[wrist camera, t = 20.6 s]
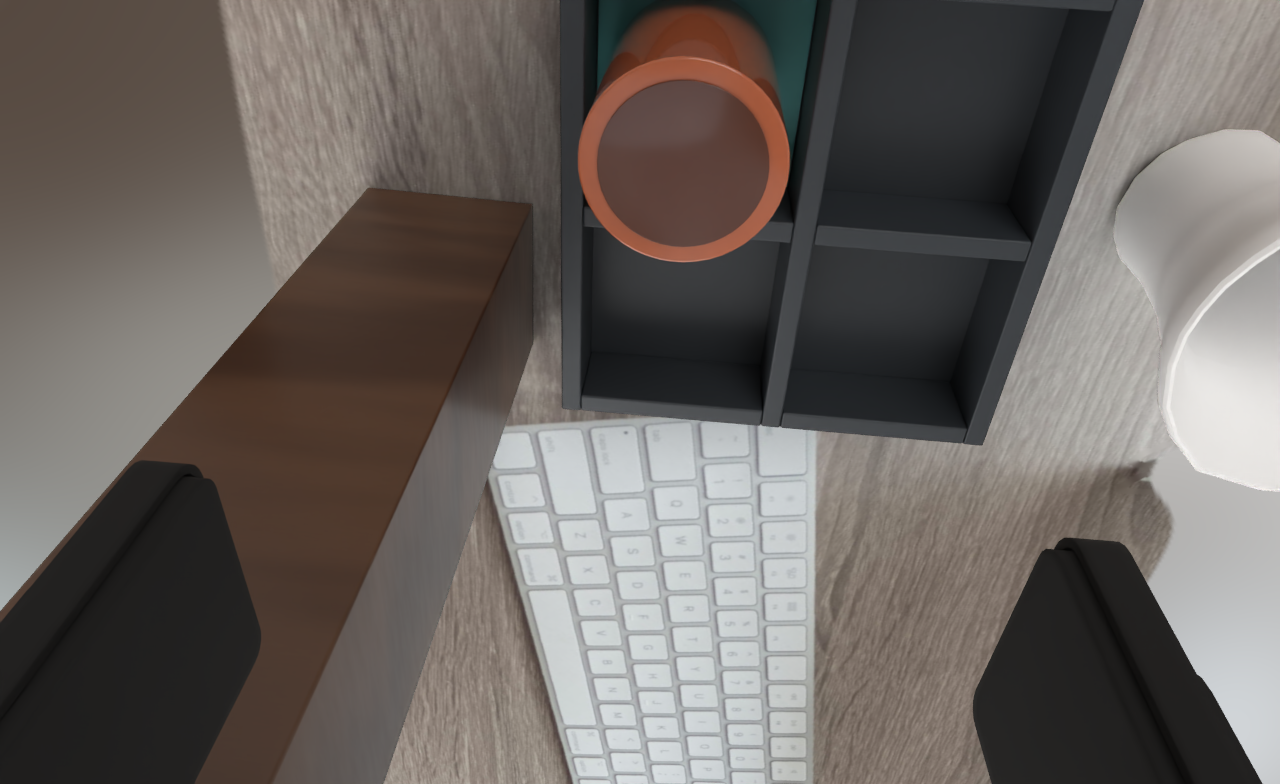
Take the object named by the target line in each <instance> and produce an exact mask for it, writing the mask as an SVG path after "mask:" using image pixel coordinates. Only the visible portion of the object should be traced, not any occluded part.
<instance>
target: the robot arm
mask: <svg viewBox="0 0 1280 784" xmlns="http://www.w3.org/2000/svg"><path fill="white" fill-rule="evenodd" d="M260 645H261V629H260V625H259V622H258V619H257V616H256V612H255V609H254V606H253V603H252V599H251V596H250V593H249V590H248V587H247V583H246V580H245V577H244V574H243V571H242V567H241V564H240V561H239V558H238V555H237V551H236V548H235V545H234V542H233V539H232V535H231V532H230V529H229V526H228V522H227V519H226V516H225V513H224V510H223V506H222V503H221V500H220V497H219V494H218V490H217V487H216V485H215V483H214V482H213V481H212V480H211V479H208V478H204V477H203V475H202V473H201V471H200V469H199V468H198V467H197V466H195V465H192V464H183V463H171V462H159V461H148V460H141V461H138V462H135V463H134V464H133V465H132V466H131V467H129V468H128V469H127V471H126V472H125V473H124V474H123V475H122V477H121V478H120V479H119V480H118V481H117V483H116V484H115V485H114V486H113V488H112V489H111V490H110V491H109V492H108V494H107V495H106V496H105V497H104V498H103V500H102V501H101V502H100V503H99V504H98V506H97V507H96V508H95V509H94V511H93V512H92V513H91V514H90V515H89V517H88V518H87V519H86V520H85V521H84V523H83V524H82V525H81V526H80V527H79V529H78V530H77V531H76V532H75V534H74V535H73V536H72V537H71V538H70V540H69V541H68V542H67V543H66V544H65V546H64V547H63V548H62V549H61V550H60V552H59V553H58V554H57V555H56V557H55V558H54V559H53V560H52V561H51V563H50V564H49V565H48V566H47V567H46V569H45V570H44V571H43V572H42V573H41V575H40V576H39V577H38V578H37V579H36V581H35V582H34V583H33V584H32V586H31V587H30V588H29V589H28V590H27V591H26V592H25V593H24V594H23V596H22V597H21V598H20V599H19V601H18V602H17V603H16V604H15V605H14V607H13V608H12V609H11V610H10V611H9V613H8V614H7V615H6V616H5V617H4V619H3V620H2V621H1V622H0V784H194V783H195V781H196V779H197V777H198V775H199V773H200V771H201V769H202V767H203V765H204V763H205V761H206V759H207V757H208V755H209V753H210V751H211V749H212V747H213V745H214V743H215V741H216V739H217V737H218V735H219V733H220V731H221V729H222V727H223V725H224V723H225V721H226V719H227V717H228V715H229V713H230V711H231V710H232V708H233V706H234V704H235V702H236V700H237V698H238V696H239V694H240V692H241V690H242V688H243V686H244V684H245V682H246V680H247V678H248V676H249V674H250V672H251V670H252V668H253V666H254V664H255V662H256V659H257V657H258V654H259V650H260ZM973 716H974V722H975V726H976V730H977V734H978V737H979V741H980V744H981V748H982V751H983V755H984V758H985V762H986V765H987V769H988V772H989V776H990V779H991V783H992V784H1262V782H1261V780H1260V779H1259V777H1258V775H1257V773H1256V771H1255V769H1254V768H1253V766H1252V764H1251V762H1250V760H1249V759H1248V757H1247V755H1246V754H1245V751H1244V749H1243V748H1242V746H1241V744H1240V743H1239V740H1238V739H1237V737H1236V735H1235V733H1234V732H1233V730H1232V728H1231V726H1230V724H1229V722H1228V721H1227V719H1226V717H1225V715H1224V713H1223V712H1222V710H1221V708H1220V706H1219V704H1218V703H1217V701H1216V699H1215V697H1214V695H1213V693H1212V692H1211V690H1210V689H1209V688H1208V686H1207V685H1206V683H1205V682H1204V680H1203V679H1202V678H1201V677H1200V676H1198V675H1197V674H1196V672H1195V670H1194V669H1193V667H1192V665H1191V663H1190V661H1189V660H1188V658H1187V656H1186V654H1185V652H1184V650H1183V648H1182V647H1181V645H1180V643H1179V641H1178V639H1177V637H1176V636H1175V634H1174V632H1173V630H1172V628H1171V626H1170V625H1169V623H1168V621H1167V619H1166V617H1165V616H1164V614H1163V612H1162V610H1161V608H1160V606H1159V605H1158V603H1157V601H1156V599H1155V597H1154V596H1153V593H1152V592H1151V590H1150V588H1149V586H1148V584H1147V582H1146V581H1145V579H1144V577H1143V575H1142V573H1141V572H1140V570H1139V568H1138V566H1137V564H1136V562H1135V561H1134V559H1133V557H1132V555H1131V553H1130V552H1129V551H1128V549H1127V548H1126V547H1125V546H1124V545H1123V544H1121V543H1120V542H1115V541H1103V540H1091V539H1079V538H1063V539H1062V540H1060V541H1059V542H1058V544H1057V545H1056V547H1055V548H1054V549H1045V550H1044V551H1042V553H1041V554H1040V556H1039V557H1038V560H1037V562H1036V564H1035V566H1034V568H1033V570H1032V572H1031V574H1030V576H1029V579H1028V581H1027V583H1026V585H1025V587H1024V589H1023V591H1022V593H1021V596H1020V598H1019V600H1018V602H1017V604H1016V606H1015V608H1014V610H1013V612H1012V615H1011V617H1010V619H1009V621H1008V623H1007V625H1006V627H1005V629H1004V631H1003V634H1002V636H1001V638H1000V640H999V642H998V644H997V646H996V648H995V650H994V653H993V655H992V657H991V659H990V661H989V663H988V665H987V667H986V669H985V672H984V674H983V676H982V678H981V680H980V682H979V684H978V686H977V688H976V691H975V694H974V699H973Z"/></svg>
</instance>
